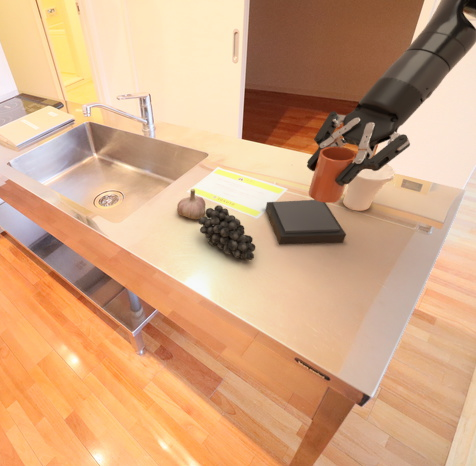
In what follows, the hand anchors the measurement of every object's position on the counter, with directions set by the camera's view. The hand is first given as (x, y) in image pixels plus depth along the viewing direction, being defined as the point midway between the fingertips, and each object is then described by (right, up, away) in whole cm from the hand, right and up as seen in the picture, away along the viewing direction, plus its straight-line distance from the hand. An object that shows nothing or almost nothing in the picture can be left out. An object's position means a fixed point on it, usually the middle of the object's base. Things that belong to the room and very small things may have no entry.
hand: (324, 175), depth 57 cm
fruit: (-13, -14, +16) cm, 24 cm away
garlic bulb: (-18, -5, +26) cm, 33 cm away
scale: (+6, -8, +18) cm, 21 cm away
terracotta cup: (+2, -3, +3) cm, 5 cm away
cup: (+21, -3, +21) cm, 30 cm away
